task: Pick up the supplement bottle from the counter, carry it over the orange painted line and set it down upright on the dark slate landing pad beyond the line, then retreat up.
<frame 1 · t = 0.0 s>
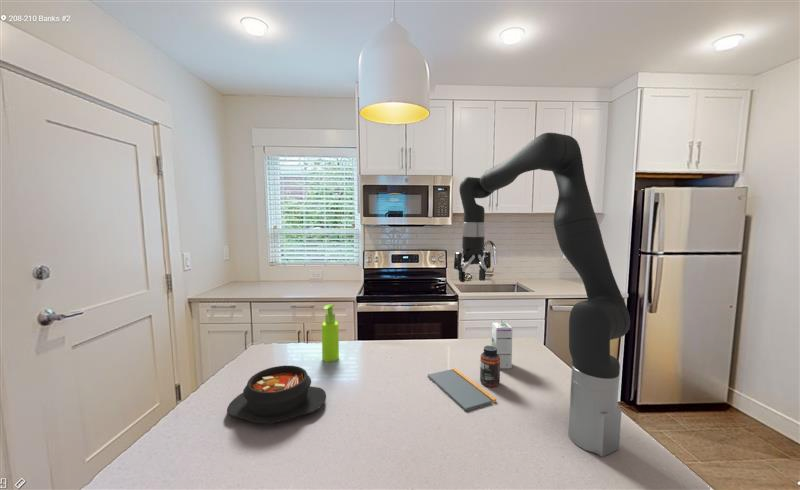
hand: (472, 281, 111), 29 cm above the countertop, tool pointing down, fingers open, 8 cm apart
syrup box: (500, 365, 111), on the countertop
supplement bottle: (489, 383, 99), on the countertop
soap dispenser: (329, 359, 114), on the countertop
grey board: (461, 388, 95), on the countertop
casserole: (278, 408, 85), on the countertop
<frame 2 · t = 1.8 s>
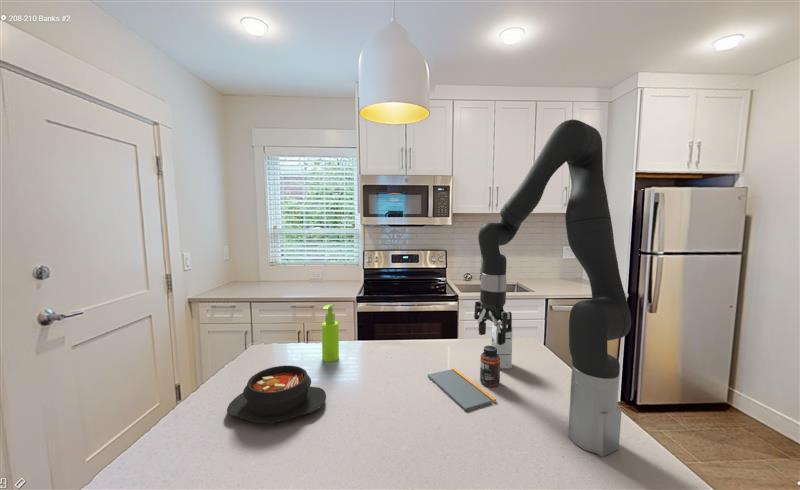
hand: (491, 339, 98), 14 cm above the countertop, tool pointing down, fingers open, 8 cm apart
nothing on the countertop moved.
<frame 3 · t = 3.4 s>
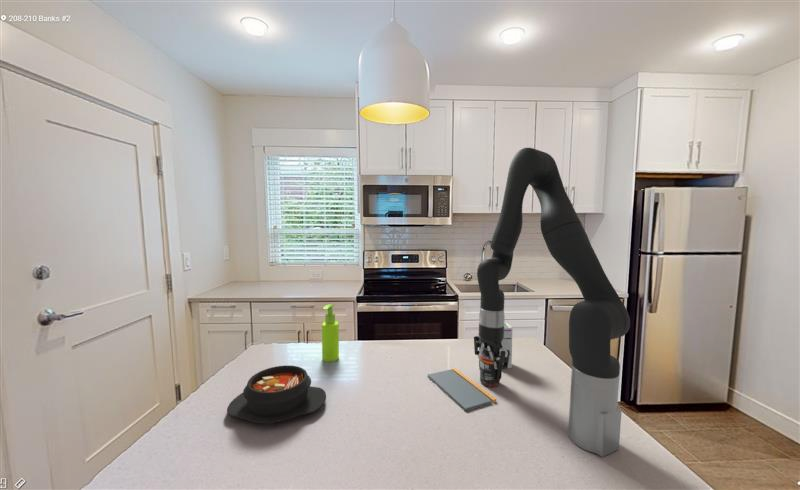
hand: (489, 374, 98), 3 cm above the countertop, tool pointing down, fingers closed on supplement bottle, 6 cm apart
supplement bottle: (489, 383, 99), on the countertop, touching gripper
everything else where it was.
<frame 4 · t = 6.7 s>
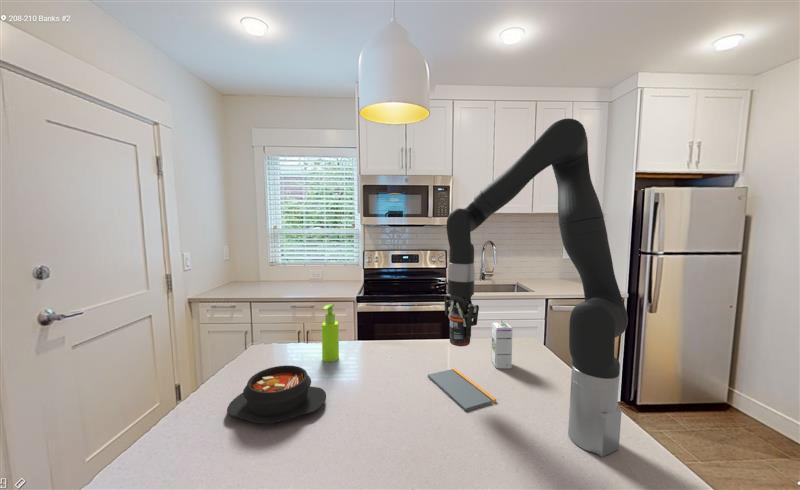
hand: (459, 334, 92), 17 cm above the countertop, tool pointing down, fingers closed on supplement bottle, 6 cm apart
supplement bottle: (459, 343, 92), point 14 cm above the countertop, touching gripper
everything else where it was.
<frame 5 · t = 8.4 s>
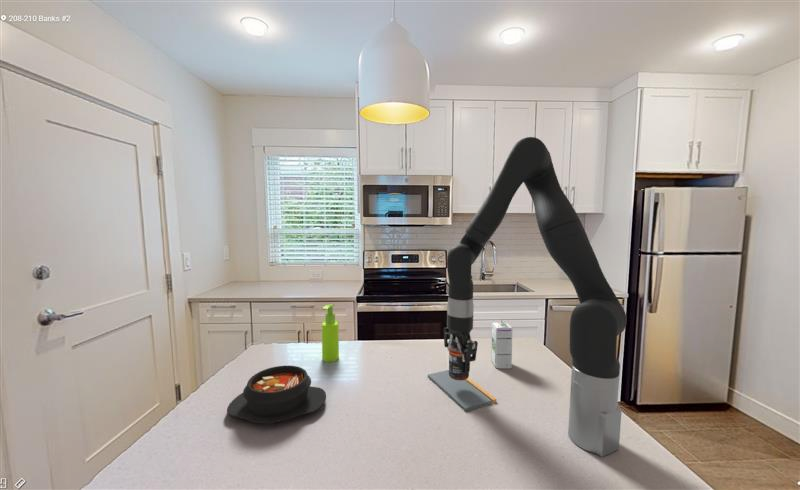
hand: (458, 367, 93), 7 cm above the countertop, tool pointing down, fingers closed on supplement bottle, 6 cm apart
supplement bottle: (458, 377, 93), point 4 cm above the countertop, touching gripper
everything else where it was.
when the fingers open (5 cm above the countertop, at t = 9.9 s): supplement bottle drops 1 cm, resting on grey board.
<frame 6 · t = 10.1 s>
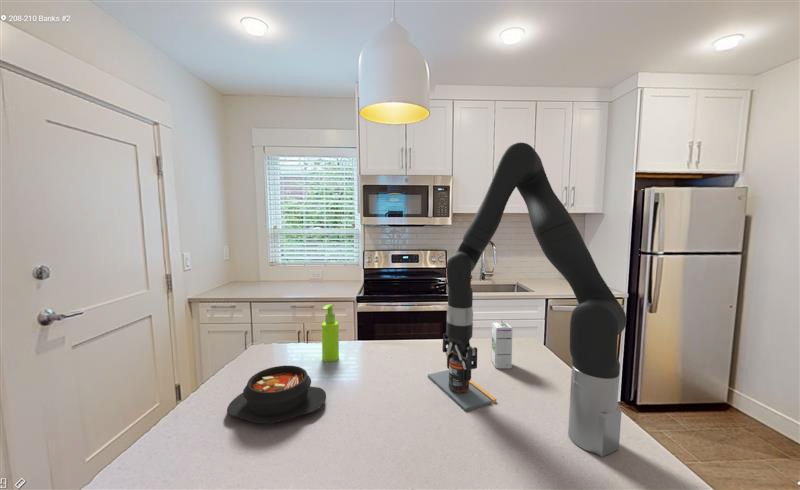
hand: (458, 374, 93), 5 cm above the countertop, tool pointing down, fingers open, 7 cm apart
supplement bottle: (458, 389, 93), point 1 cm above the countertop, touching grey board
everything else where it was.
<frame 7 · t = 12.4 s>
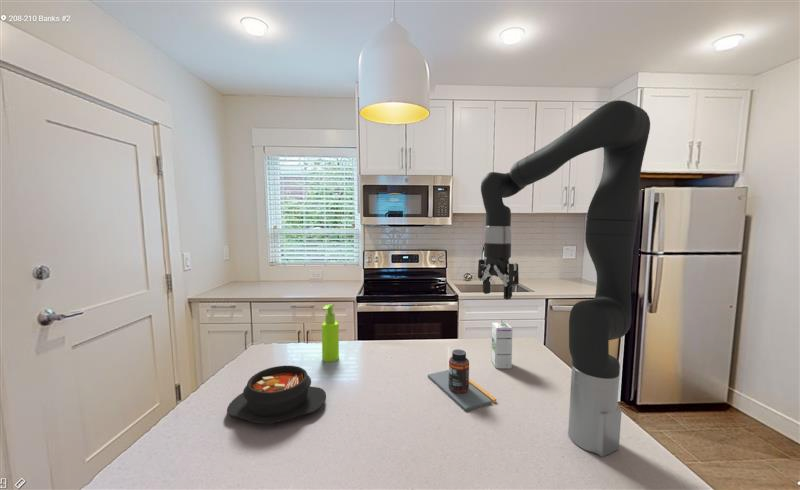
hand: (496, 296, 93), 28 cm above the countertop, tool pointing down, fingers open, 8 cm apart
nothing on the countertop moved.
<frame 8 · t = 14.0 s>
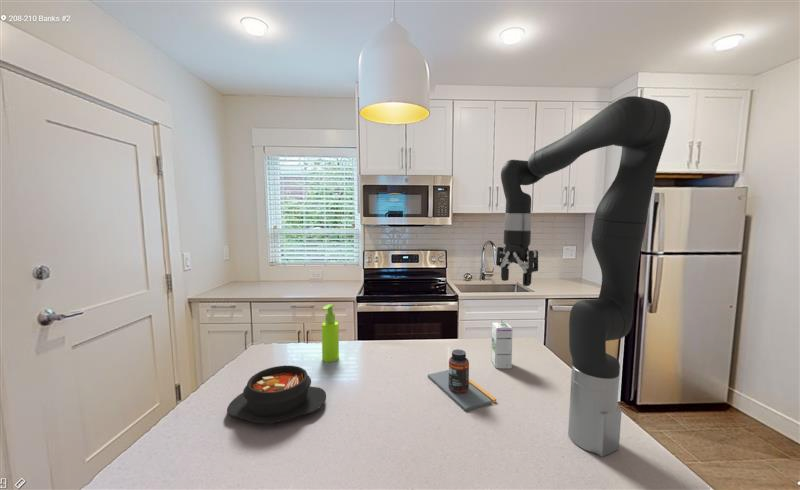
hand: (515, 283, 94), 32 cm above the countertop, tool pointing down, fingers open, 8 cm apart
nothing on the countertop moved.
at the end: supplement bottle inside the target area (1.2 cm from its centre), point 0.6 cm above the countertop; supplement bottle tilted 0°; the gripper is holding nothing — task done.
